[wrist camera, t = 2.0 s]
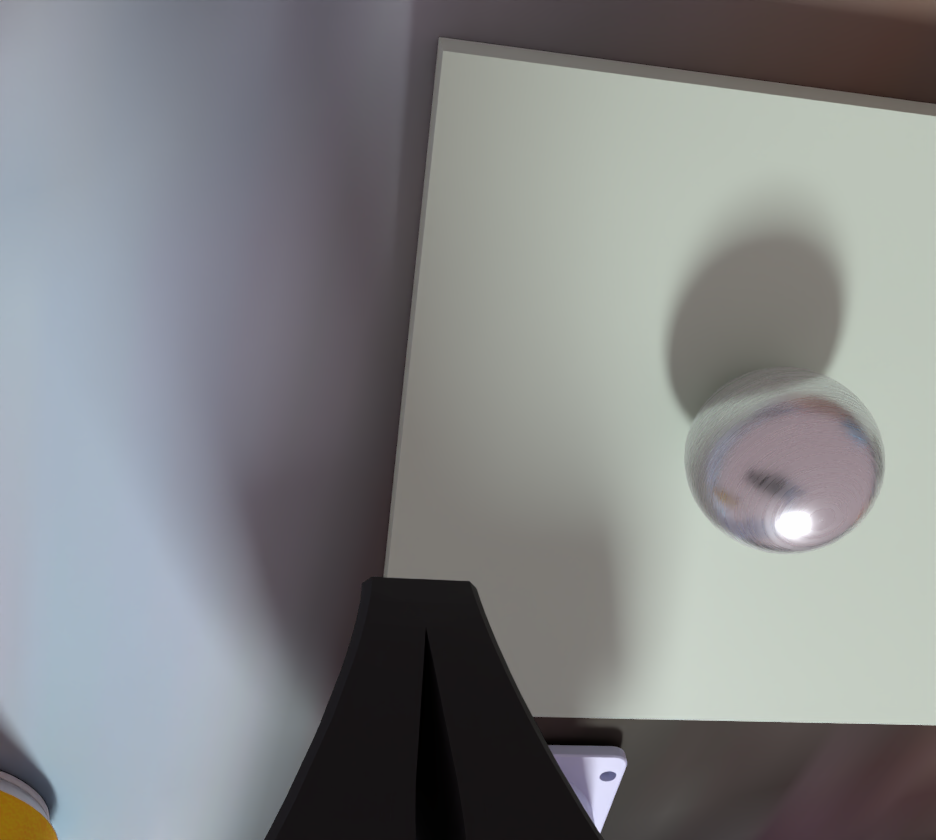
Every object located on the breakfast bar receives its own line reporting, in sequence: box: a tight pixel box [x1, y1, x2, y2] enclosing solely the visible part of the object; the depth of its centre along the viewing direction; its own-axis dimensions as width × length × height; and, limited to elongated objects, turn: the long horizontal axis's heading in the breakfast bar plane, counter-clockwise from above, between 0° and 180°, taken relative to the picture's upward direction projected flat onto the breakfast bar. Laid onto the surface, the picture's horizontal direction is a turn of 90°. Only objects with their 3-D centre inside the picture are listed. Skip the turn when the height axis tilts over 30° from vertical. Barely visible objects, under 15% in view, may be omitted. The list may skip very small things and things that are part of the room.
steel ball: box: [684, 367, 885, 554], centre depth 15 cm, size 4×4×4 cm
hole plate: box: [384, 37, 936, 725], centre depth 19 cm, size 16×24×2 cm, turn 82°
